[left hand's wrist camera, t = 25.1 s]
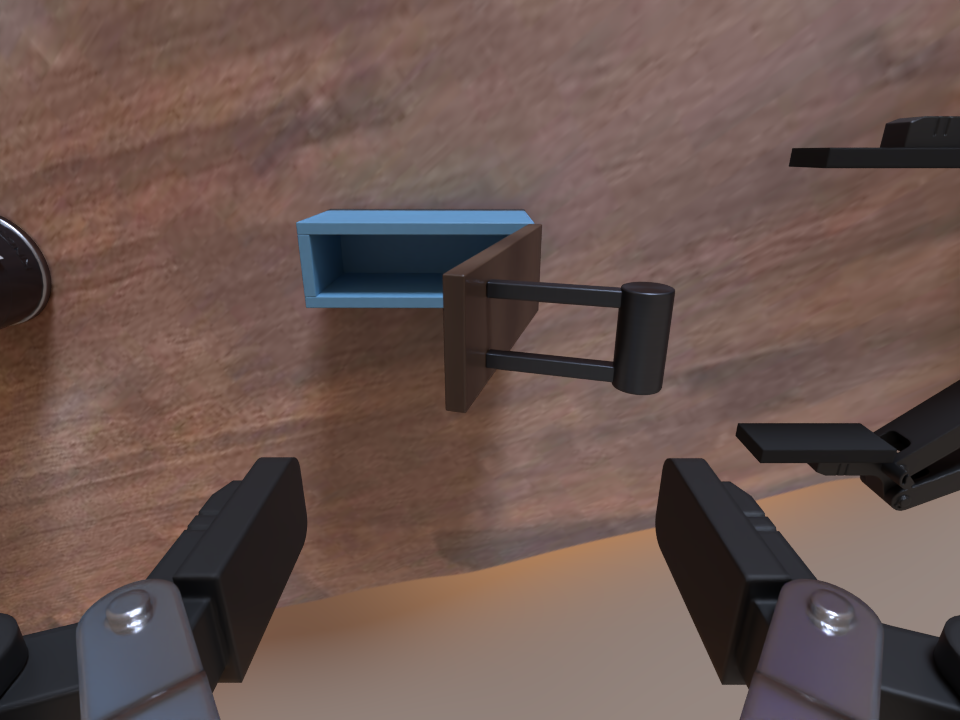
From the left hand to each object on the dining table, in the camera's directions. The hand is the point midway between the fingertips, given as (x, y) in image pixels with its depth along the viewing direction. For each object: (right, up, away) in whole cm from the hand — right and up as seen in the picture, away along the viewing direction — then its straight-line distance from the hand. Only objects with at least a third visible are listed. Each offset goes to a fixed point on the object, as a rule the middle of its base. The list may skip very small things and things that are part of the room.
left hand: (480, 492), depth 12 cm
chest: (-4, +12, +31) cm, 34 cm away
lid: (+1, +6, +16) cm, 17 cm away
